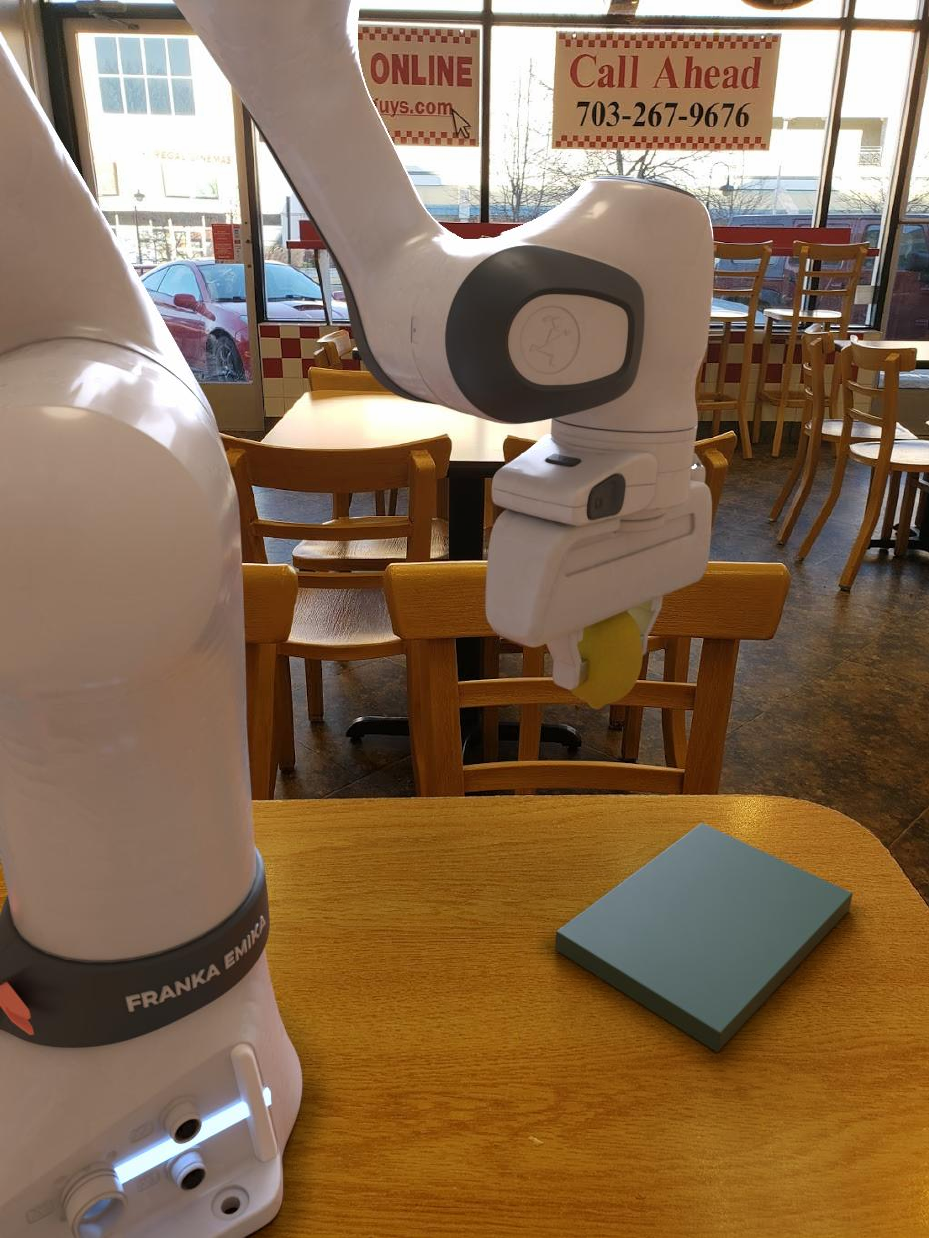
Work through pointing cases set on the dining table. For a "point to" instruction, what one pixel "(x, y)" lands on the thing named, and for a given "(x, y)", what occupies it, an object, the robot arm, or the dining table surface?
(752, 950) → the cutting board
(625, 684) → the lemon
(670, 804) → the dining table surface
